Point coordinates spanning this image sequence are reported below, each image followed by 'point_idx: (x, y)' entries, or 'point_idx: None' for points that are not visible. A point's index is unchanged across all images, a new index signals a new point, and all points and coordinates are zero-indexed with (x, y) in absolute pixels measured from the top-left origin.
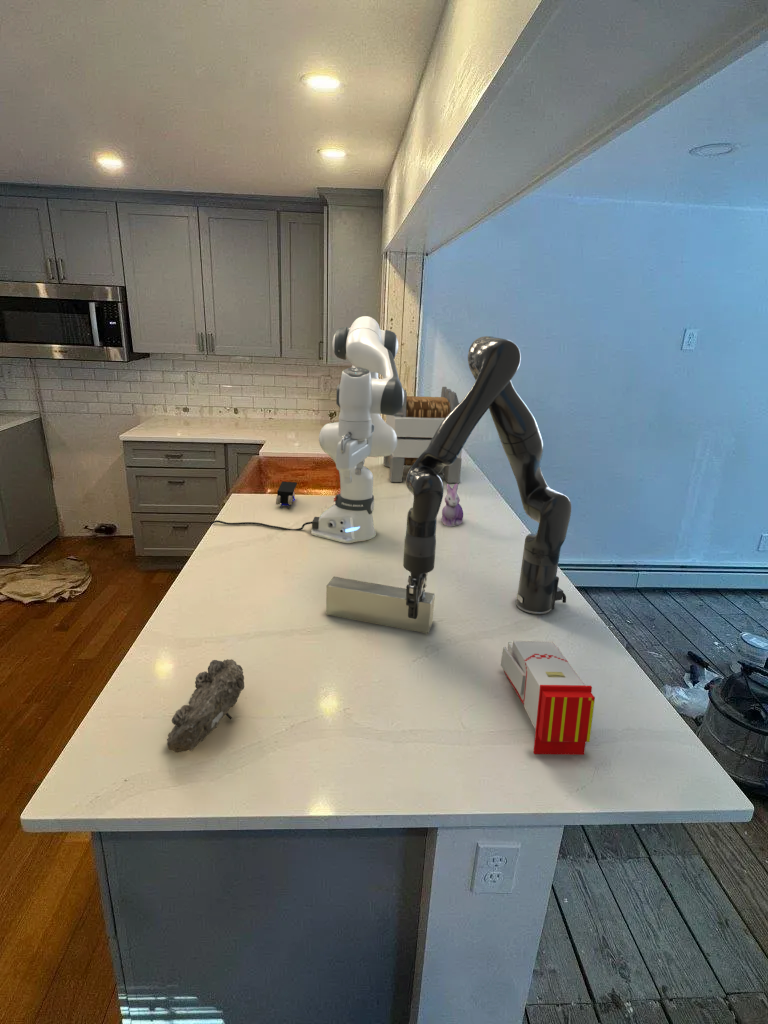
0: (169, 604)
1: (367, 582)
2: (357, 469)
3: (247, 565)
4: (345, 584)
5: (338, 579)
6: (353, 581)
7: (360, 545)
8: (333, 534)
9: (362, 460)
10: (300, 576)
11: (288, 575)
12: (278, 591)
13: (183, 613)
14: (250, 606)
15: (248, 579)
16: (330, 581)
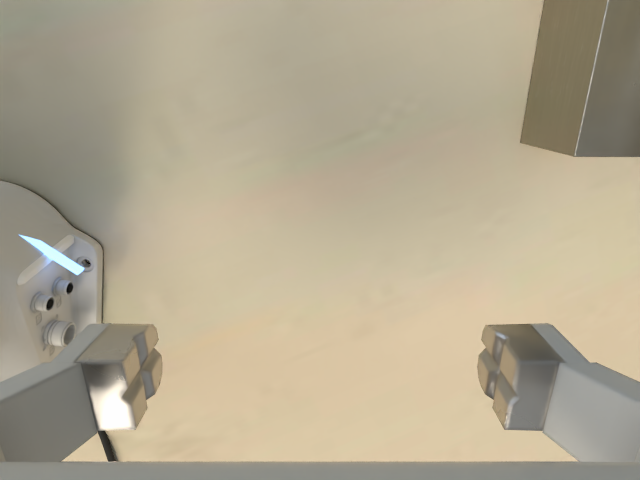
0: None
1: (607, 13)
2: (132, 402)
3: (359, 422)
4: (634, 93)
5: (598, 132)
6: (607, 72)
7: (89, 203)
8: (74, 307)
9: (127, 466)
10: (377, 288)
11: (381, 317)
12: (475, 304)
13: None
14: (562, 329)
15: (431, 389)
16: (616, 154)
